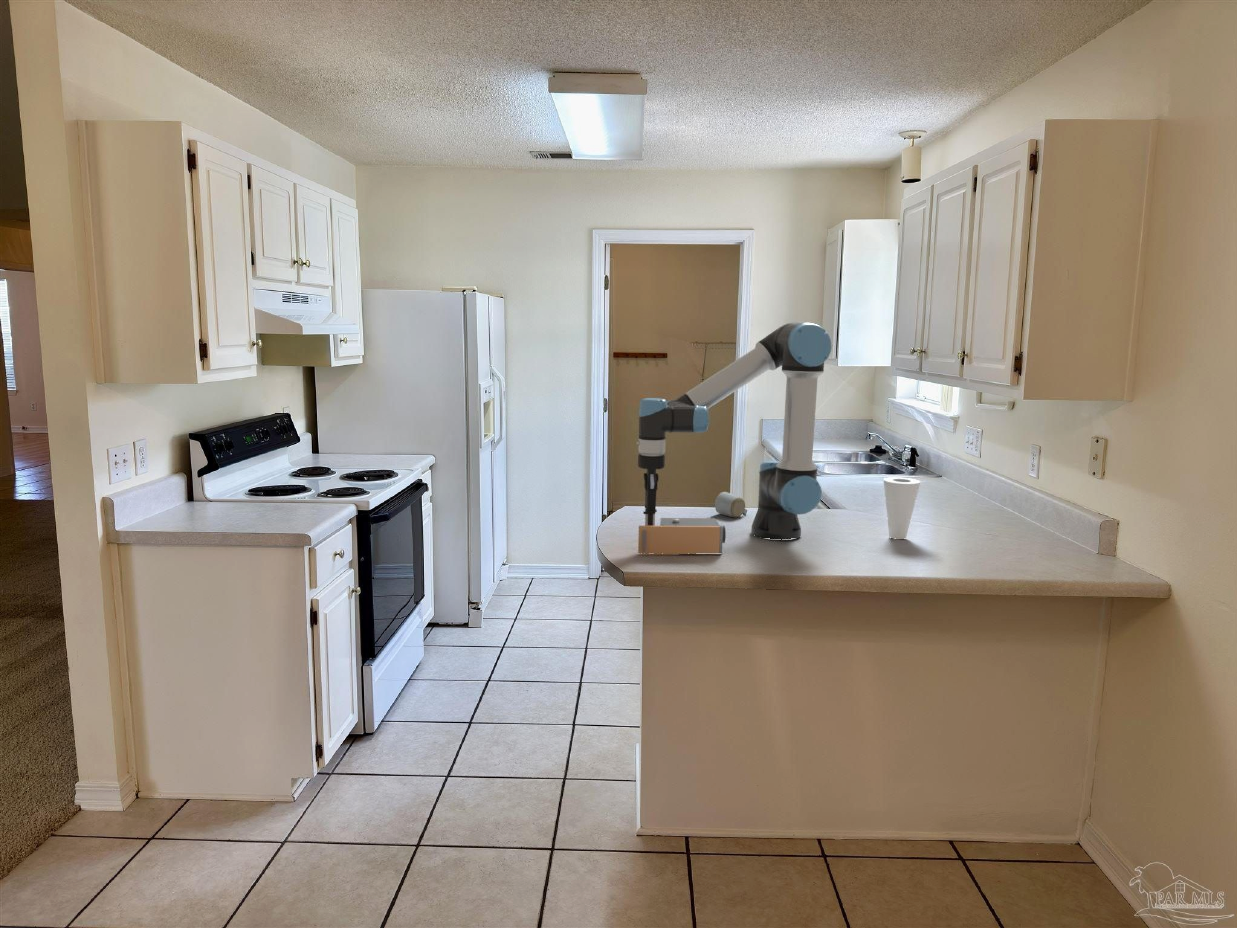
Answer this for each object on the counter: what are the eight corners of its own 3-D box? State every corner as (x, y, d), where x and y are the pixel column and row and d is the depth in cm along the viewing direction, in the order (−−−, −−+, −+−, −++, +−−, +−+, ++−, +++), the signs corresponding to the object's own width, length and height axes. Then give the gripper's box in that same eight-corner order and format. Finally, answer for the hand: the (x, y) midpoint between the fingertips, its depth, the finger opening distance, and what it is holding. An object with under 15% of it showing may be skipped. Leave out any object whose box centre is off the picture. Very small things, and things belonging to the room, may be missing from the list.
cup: (901, 532, 263) (905, 476, 260) (923, 541, 253) (928, 483, 250) (872, 534, 260) (876, 477, 257) (893, 543, 250) (897, 484, 247)
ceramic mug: (731, 519, 276) (732, 497, 275) (713, 515, 283) (714, 492, 281) (752, 515, 283) (754, 493, 282) (735, 511, 289) (736, 489, 288)
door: (721, 553, 235) (722, 526, 234) (722, 555, 233) (723, 527, 232) (638, 553, 235) (638, 525, 233) (638, 555, 232) (639, 527, 231)
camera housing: (720, 544, 246) (721, 515, 244) (726, 554, 236) (727, 524, 234) (659, 544, 245) (660, 515, 243) (662, 554, 235) (663, 523, 234)
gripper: (637, 449, 240) (635, 529, 244) (639, 457, 227) (637, 541, 231) (663, 450, 240) (660, 529, 244) (666, 457, 227) (664, 541, 231)
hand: (649, 535), depth 237 cm, fingers closed
